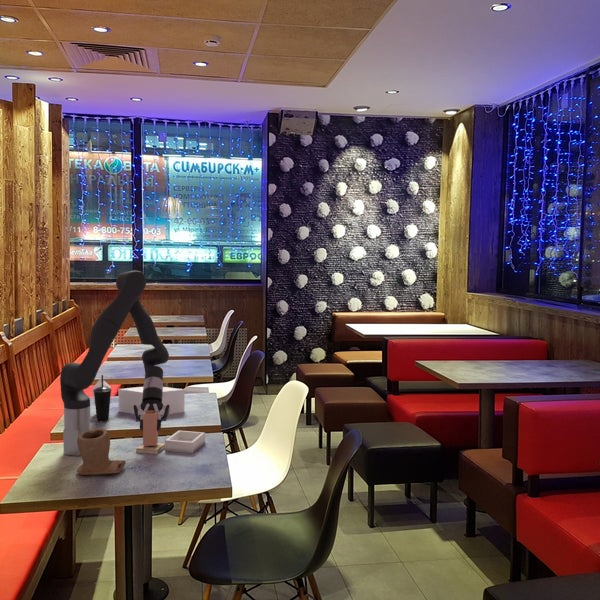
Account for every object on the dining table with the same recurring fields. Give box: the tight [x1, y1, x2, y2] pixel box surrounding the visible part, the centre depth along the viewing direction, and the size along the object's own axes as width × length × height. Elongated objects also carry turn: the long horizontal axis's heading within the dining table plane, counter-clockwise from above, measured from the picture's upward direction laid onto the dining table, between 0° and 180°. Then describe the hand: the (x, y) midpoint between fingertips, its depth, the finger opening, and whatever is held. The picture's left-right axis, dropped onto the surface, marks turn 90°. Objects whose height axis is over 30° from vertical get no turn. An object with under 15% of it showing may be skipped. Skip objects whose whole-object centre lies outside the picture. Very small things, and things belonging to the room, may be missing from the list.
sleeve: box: [142, 411, 159, 446], centre depth 245 cm, size 5×5×12 cm
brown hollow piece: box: [76, 428, 127, 476], centre depth 220 cm, size 15×12×15 cm
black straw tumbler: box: [91, 378, 112, 404], centre depth 294 cm, size 8×8×16 cm
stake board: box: [135, 442, 165, 455], centre depth 246 cm, size 8×8×2 cm
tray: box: [164, 430, 206, 454], centre depth 250 cm, size 13×11×4 cm
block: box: [117, 386, 185, 416], centre depth 299 cm, size 15×30×11 cm, turn 92°
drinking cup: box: [92, 374, 112, 423], centre depth 283 cm, size 8×8×20 cm
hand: (150, 430), depth 243 cm, fingers closed on sleeve, 5 cm apart
